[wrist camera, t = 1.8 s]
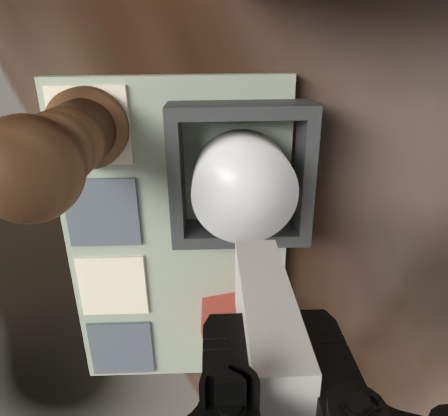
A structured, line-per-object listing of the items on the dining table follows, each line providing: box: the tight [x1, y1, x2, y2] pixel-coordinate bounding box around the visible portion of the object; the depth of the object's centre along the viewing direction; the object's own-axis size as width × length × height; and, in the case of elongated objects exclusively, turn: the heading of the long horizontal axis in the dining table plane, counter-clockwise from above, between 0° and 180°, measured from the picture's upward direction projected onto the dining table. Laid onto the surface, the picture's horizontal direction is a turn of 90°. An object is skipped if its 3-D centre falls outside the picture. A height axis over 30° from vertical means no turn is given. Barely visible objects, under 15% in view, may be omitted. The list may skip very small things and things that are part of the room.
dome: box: [191, 129, 299, 243], centre depth 23 cm, size 6×6×4 cm
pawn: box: [0, 86, 129, 224], centre depth 20 cm, size 5×5×11 cm
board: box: [34, 72, 323, 376], centre depth 28 cm, size 17×24×4 cm
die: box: [201, 292, 236, 339], centre depth 29 cm, size 4×4×4 cm
